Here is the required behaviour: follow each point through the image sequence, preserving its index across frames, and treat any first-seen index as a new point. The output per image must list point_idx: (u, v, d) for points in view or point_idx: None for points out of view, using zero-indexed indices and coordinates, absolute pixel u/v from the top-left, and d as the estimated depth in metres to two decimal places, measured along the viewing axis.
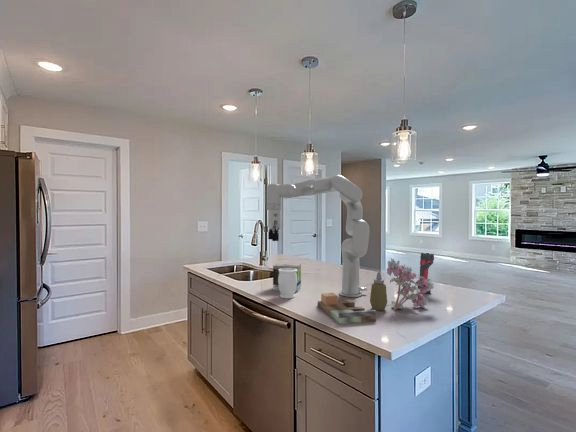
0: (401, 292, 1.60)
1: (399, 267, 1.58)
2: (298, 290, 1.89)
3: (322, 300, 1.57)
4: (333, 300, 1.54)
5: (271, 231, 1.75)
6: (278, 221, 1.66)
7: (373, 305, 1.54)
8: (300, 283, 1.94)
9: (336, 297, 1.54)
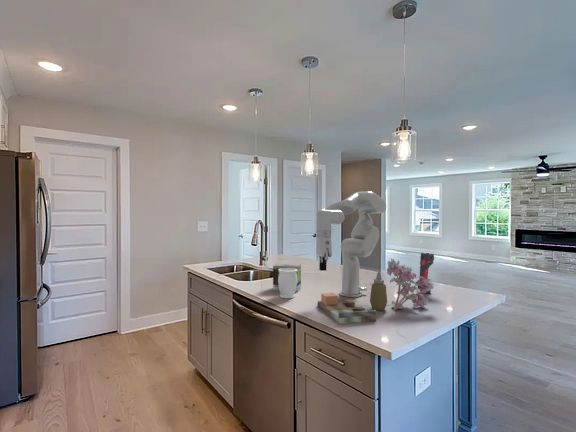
0: (401, 292, 1.60)
1: (399, 267, 1.58)
2: (298, 290, 1.89)
3: (322, 300, 1.57)
4: (333, 300, 1.54)
5: None
6: (329, 249, 1.60)
7: (373, 305, 1.54)
8: (300, 283, 1.94)
9: (336, 297, 1.54)
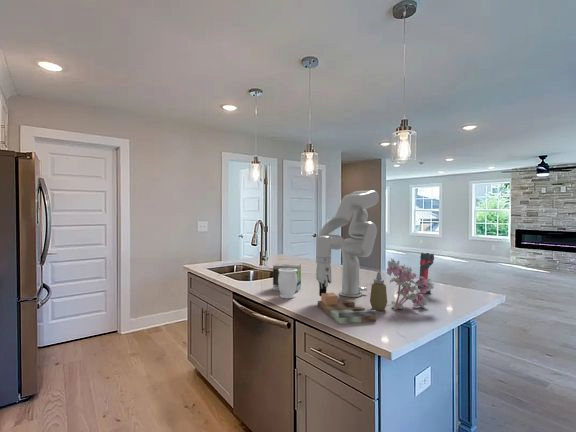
0: (401, 292, 1.60)
1: (399, 267, 1.58)
2: (298, 290, 1.89)
3: (322, 300, 1.57)
4: (333, 300, 1.54)
5: None
6: (329, 275, 1.60)
7: (373, 305, 1.54)
8: (300, 283, 1.94)
9: (336, 297, 1.54)
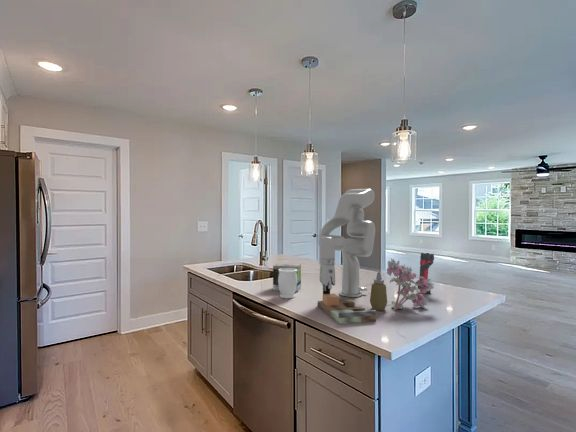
0: (401, 292, 1.60)
1: (399, 267, 1.58)
2: (298, 290, 1.89)
3: (323, 301, 1.56)
4: (334, 301, 1.52)
5: None
6: (333, 277, 1.55)
7: (373, 305, 1.54)
8: (300, 283, 1.94)
9: (337, 298, 1.53)
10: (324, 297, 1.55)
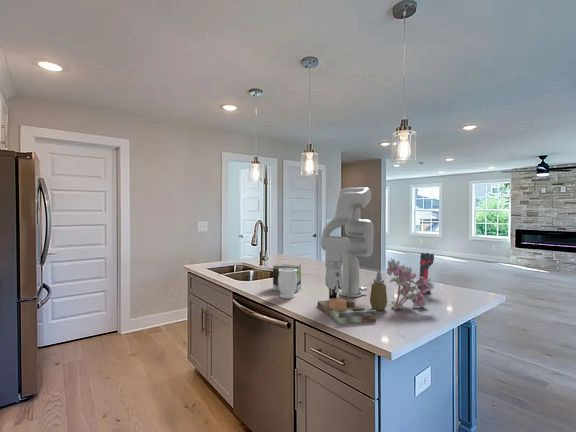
0: (401, 292, 1.60)
1: (399, 267, 1.58)
2: (298, 290, 1.89)
3: (330, 306, 1.48)
4: (341, 305, 1.45)
5: None
6: (340, 281, 1.48)
7: (373, 305, 1.54)
8: (300, 283, 1.94)
9: (345, 303, 1.45)
10: (331, 302, 1.47)
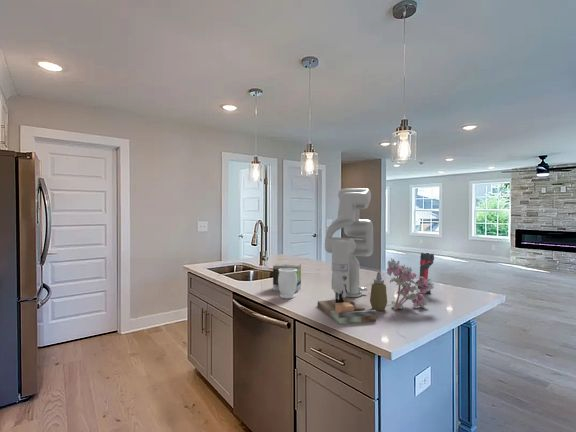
0: (401, 292, 1.60)
1: (399, 267, 1.58)
2: (298, 290, 1.89)
3: (336, 311, 1.41)
4: (348, 311, 1.37)
5: None
6: (347, 285, 1.41)
7: (373, 305, 1.54)
8: (300, 283, 1.94)
9: (352, 308, 1.38)
10: (337, 306, 1.40)
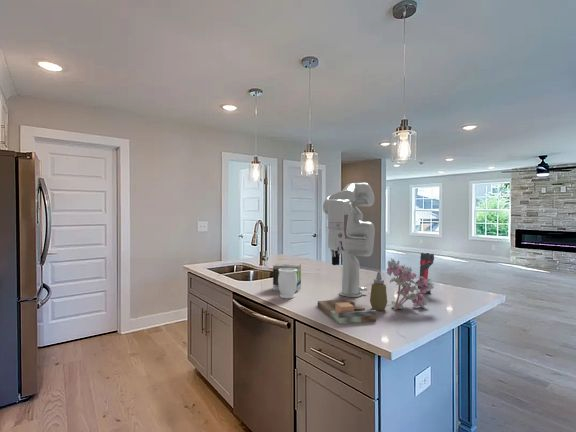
0: (401, 292, 1.60)
1: (399, 267, 1.58)
2: (298, 290, 1.89)
3: (336, 311, 1.41)
4: (348, 311, 1.37)
5: None
6: (343, 242, 1.48)
7: (373, 305, 1.54)
8: (300, 283, 1.94)
9: (352, 308, 1.38)
10: (337, 306, 1.40)
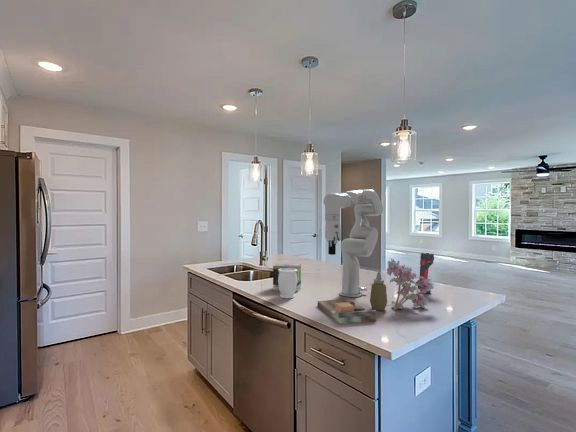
0: (401, 292, 1.60)
1: (399, 267, 1.58)
2: (298, 290, 1.89)
3: (336, 311, 1.41)
4: (348, 311, 1.37)
5: None
6: (339, 232, 1.58)
7: (373, 305, 1.54)
8: (300, 283, 1.94)
9: (352, 308, 1.38)
10: (337, 306, 1.40)
